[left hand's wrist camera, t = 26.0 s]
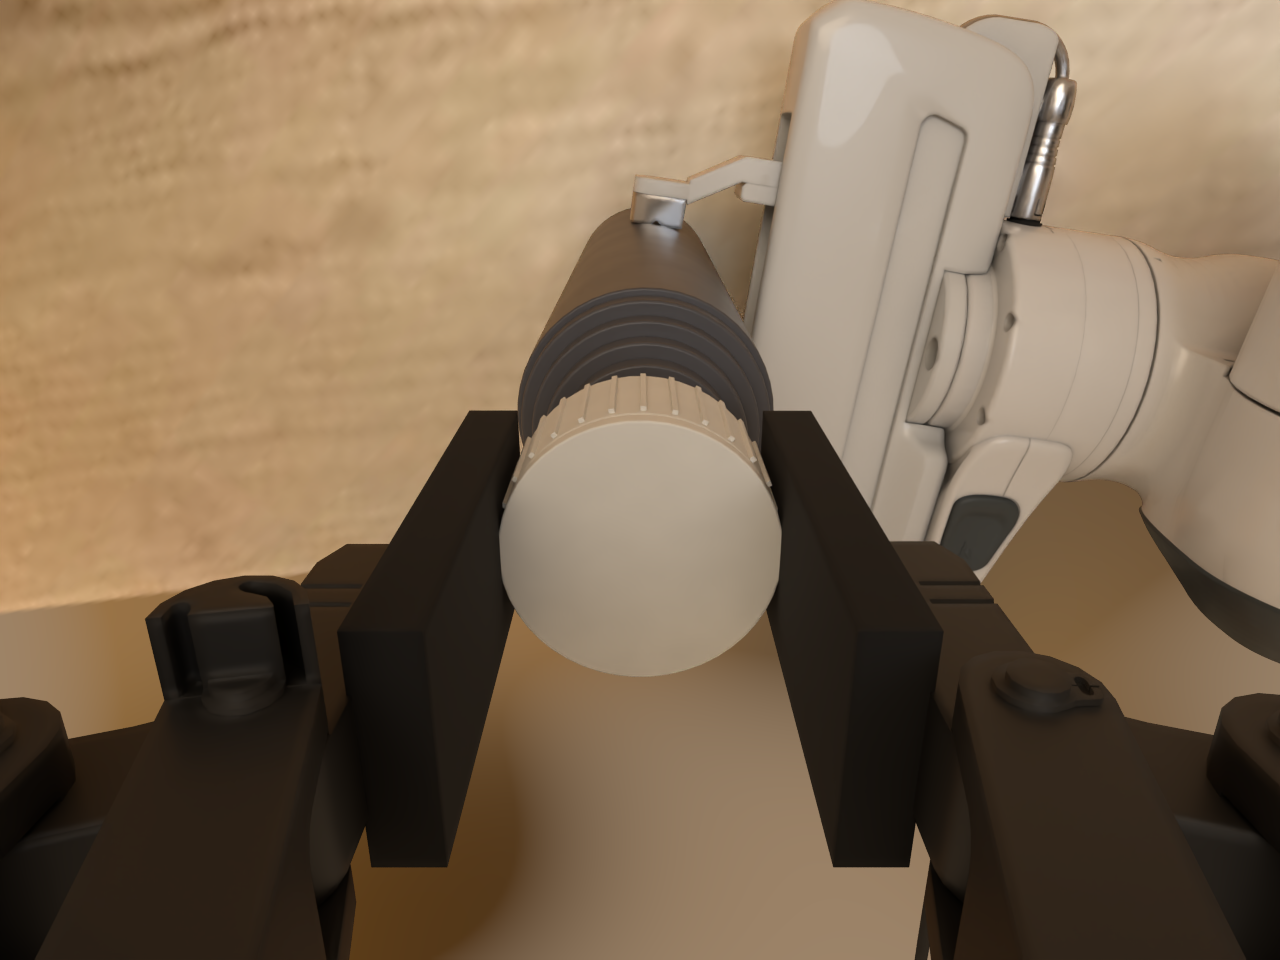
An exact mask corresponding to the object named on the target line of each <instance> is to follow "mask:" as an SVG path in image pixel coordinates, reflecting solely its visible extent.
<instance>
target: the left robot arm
mask: <svg viewBox="0 0 1280 960" xmlns="http://www.w3.org/2000/svg"><path fill="white" fill-rule="evenodd" d="M761 456H762V459H763V462H764V464H765V467H766V470H767V473H768V475H769V478H770V481H771V483H772V486H770V488H771V491H772V494H773V496H774V499H775V502H776V505H777V508H778V511H777V512H778V515H779V519H780V523H781V527H782V535H781V552H780V567H779V580H778V584H777V587H776V590H775V592H774V595H773V597H772V599H771V601H770V603H769V605H768V607H767V609H766V610H767V614H768V618H769V622H770V626H771V630H772V634H773V637H774V641H775V645H776V649H777V653H778V657H779V661H780V664H781V668H782V672H783V676H784V680H785V684H786V687H787V691H788V695H789V699H790V703H791V707H792V710H793V714H794V718H795V722H796V726H797V730H798V733H799V737H800V741H801V745H802V749H803V753H804V757H805V760H806V764H807V768H808V772H809V775H810V780H811V783H812V787H813V791H814V795H815V799H816V802H817V806H818V810H819V814H820V818H821V822H822V826H823V829H824V833H825V837H826V841H827V845H828V849H829V852H830V856H831V860H832V864H833V867H909V865H910V858H911V851H912V844H913V838H914V831H915V824H917V827H918V829H919V832H920V834H921V837H922V839H923V842H924V844H925V847H926V849H927V852H928V854H929V857H930V865H929V871H928V877H927V884H926V890H925V896H924V902H923V909H922V915H921V921H920V928H919V934H918V940H917V947H916V954H915V960H927V957H928V952H929V946H930V954H931V960H1280V695H1275V694H1263V693H1257V694H1251V695H1246V696H1240V697H1235V698H1233V699H1232V700H1231V701H1230V702H1228V703H1227V704H1226V705H1225V706H1224V707H1222V709H1221V712H1220V716H1219V719H1218V723H1217V726H1216V729H1215V733H1214V735H1210V734H1205V733H1199V732H1194V731H1189V730H1184V729H1178V728H1173V727H1168V726H1163V725H1157V724H1152V723H1147V722H1143V721H1139V720H1135V719H1131V718H1127V717H1124V715H1123V713H1122V711H1121V709H1120V707H1119V705H1118V703H1117V701H1116V699H1115V698H1114V697H1113V696H1112V694H1111V693H1110V692H1109V691H1108V690H1107V688H1106V687H1105V686H1104V685H1103V684H1102V682H1100V681H1099V680H1097V679H1095V678H1094V677H1092V676H1091V675H1089V674H1088V673H1086V672H1085V671H1083V670H1081V669H1080V668H1079V667H1076V666H1073V665H1071V664H1068V663H1066V662H1063V661H1060V660H1058V659H1055V658H1053V657H1050V656H1045V655H1040V654H1034V652H1033V651H1032V650H1031V648H1030V647H1029V646H1028V644H1027V643H1026V642H1025V640H1024V639H1023V637H1022V636H1021V635H1020V634H1019V632H1018V631H1017V629H1016V628H1015V627H1014V626H1013V624H1012V623H1011V621H1010V620H1009V619H1008V617H1007V616H1006V615H1005V613H1004V612H1003V611H1002V609H1001V608H1000V607H999V605H998V604H994V599H993V597H992V596H991V595H990V593H989V592H988V591H987V589H986V588H985V587H984V586H983V585H980V580H979V579H978V577H977V576H976V575H975V573H974V572H973V571H972V569H971V568H970V567H969V565H968V564H967V563H966V561H965V560H964V559H962V558H961V557H959V556H957V555H956V554H954V553H953V552H951V551H949V550H948V549H946V548H944V547H943V546H941V545H940V544H938V543H936V542H935V541H889V539H888V538H887V536H886V534H885V533H884V531H883V529H882V528H881V526H880V524H879V523H878V521H877V519H876V518H875V516H874V514H873V513H872V511H871V509H870V508H869V506H868V504H867V503H866V501H865V499H864V498H863V496H862V494H861V493H860V491H859V489H858V488H857V486H856V485H855V483H854V481H853V480H852V478H851V476H850V475H849V473H848V471H847V470H846V468H845V466H844V465H843V463H842V461H841V460H840V458H839V456H838V455H837V453H836V451H835V450H834V448H833V446H832V445H831V443H830V441H829V440H828V438H827V436H826V435H825V433H824V431H823V430H822V428H821V426H820V425H819V423H818V421H817V420H816V418H815V416H814V415H813V413H812V411H763V420H762V438H761ZM519 457H520V446H519V428H518V411H469V412H468V414H467V416H466V417H465V419H464V421H463V422H462V424H461V426H460V427H459V429H458V431H457V432H456V434H455V436H454V437H453V439H452V441H451V442H450V444H449V446H448V447H447V449H446V451H445V452H444V454H443V456H442V457H441V459H440V461H439V462H438V464H437V466H436V467H435V469H434V471H433V472H432V474H431V476H430V477H429V479H428V481H427V482H426V484H425V486H424V487H423V489H422V491H421V492H420V494H419V495H418V497H417V499H416V500H415V502H414V504H413V505H412V507H411V509H410V510H409V512H408V514H407V515H406V517H405V519H404V520H403V522H402V524H401V525H400V527H399V529H398V530H397V532H396V534H395V535H394V537H393V539H392V540H391V542H390V544H346V545H345V546H343V547H341V548H340V549H338V550H337V551H335V552H333V553H332V554H330V555H328V556H327V557H325V558H324V559H322V560H320V561H319V562H317V563H316V565H315V566H314V567H313V569H312V570H311V571H310V573H309V574H308V575H307V577H306V578H305V579H304V581H303V582H302V583H301V585H299V584H298V583H297V582H295V581H293V580H289V579H285V578H280V577H276V576H240V577H234V578H228V579H222V580H216V581H212V582H209V583H206V584H203V585H200V586H197V587H194V588H191V589H188V590H185V591H183V592H181V593H179V594H177V595H175V596H174V597H172V598H170V599H168V600H166V601H164V602H163V603H161V604H160V605H159V606H158V607H157V608H156V609H155V610H154V611H153V612H152V613H151V614H150V615H148V617H146V618H145V621H146V625H147V629H148V633H149V638H150V642H151V646H152V650H153V654H154V659H155V663H156V667H157V671H158V675H159V680H160V683H161V688H162V692H163V696H164V700H165V701H164V703H163V705H162V707H161V709H160V711H159V713H158V715H157V717H156V719H155V721H154V722H150V723H146V724H142V725H138V726H134V727H129V728H123V729H118V730H113V731H108V732H103V733H97V734H92V735H87V736H82V737H76V738H71V739H68V737H67V734H66V730H65V727H64V723H63V720H62V717H61V713H60V711H58V710H57V709H56V708H55V707H53V706H52V705H51V704H50V703H48V702H47V701H42V700H36V699H30V698H25V697H21V698H9V699H0V960H349V956H350V948H351V940H352V932H353V924H354V916H355V907H356V898H355V891H354V884H353V877H352V871H351V865H350V863H351V861H352V858H353V855H354V853H355V850H356V848H357V845H358V843H359V840H360V838H361V835H362V833H363V830H364V828H365V827H366V833H367V840H368V847H369V854H370V861H371V867H447V866H448V862H449V859H450V855H451V851H452V847H453V843H454V839H455V835H456V832H457V828H458V824H459V820H460V816H461V813H462V809H463V805H464V801H465V797H466V793H467V789H468V785H469V782H470V778H471V774H472V770H473V766H474V763H475V759H476V755H477V751H478V747H479V743H480V739H481V736H482V732H483V728H484V724H485V720H486V716H487V712H488V709H489V705H490V701H491V697H492V693H493V690H494V686H495V682H496V678H497V674H498V670H499V667H500V663H501V659H502V655H503V651H504V647H505V643H506V639H507V636H508V632H509V628H510V624H511V620H512V617H513V613H514V609H515V608H514V606H513V605H512V603H511V601H510V599H509V597H508V595H507V592H506V589H505V587H504V584H503V581H502V573H501V559H500V542H499V529H500V524H501V519H502V515H503V512H504V508H503V500H504V497H505V495H506V492H507V489H508V486H509V484H510V481H511V478H512V476H513V473H514V470H515V467H516V465H517V462H518V460H519Z"/></svg>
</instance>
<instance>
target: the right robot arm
mask: <svg viewBox="0 0 1280 960" xmlns="http://www.w3.org/2000/svg"><path fill="white" fill-rule="evenodd" d="M1053 61H1055V68H1056V71H1055V78H1049V75H1050V72H1051V68H1052V65H1053ZM1076 91H1077V82H1076V81H1075V80H1071V79H1069V58H1068V53H1067V50H1066V48H1065V46H1064V44H1063V42H1062V40H1061V38H1060V37H1059V36H1058V34H1057V33H1056V32H1055V31H1054V30H1053V29H1051V28H1050V27H1048V26H1047V25H1045V24H1043V23H1040V22H1038V21H1034V20H1027V19H1021V18H1015V17H1008V16H1002V15H984V16H979V17H976V18H974V19H971V20H969V21H967V22H965V23H964V24H962V25H961V26H957V25H954V24H951V23H948V22H945V21H942V20H939V19H936V18H933V17H930V16H927V15H924V14H920V13H917V12H914V11H910V10H906V9H902V8H899V7H895V6H891V5H886V4H882V3H877V2H873V1H868V0H834V1H832V2H830V3H828V4H826V5H825V6H823V7H821V8H820V9H818V10H817V11H816V12H815V13H813V14H812V15H811V16H810V17H809V18H808V19H807V20H806V21H804V22H803V23H802V24H801V25H800V27H799V28H798V29H797V32H796V35H795V38H794V43H793V48H792V54H791V59H790V65H789V70H788V76H787V81H786V87H785V92H784V98H783V103H782V109H781V114H780V120H779V125H778V131H777V136H776V142H775V147H774V153H773V158H772V160H770V159H763V158H756V157H749V156H742V155H739V156H737V157H735V158H732V159H730V160H727V161H725V162H723V163H720V164H718V165H716V166H713V167H711V168H709V169H706V170H704V171H702V172H699V173H697V174H695V175H692V176H690V177H688V178H687V181H681V180H674V179H667V178H661V177H654V176H647V175H635V182H634V189H633V196H632V205H631V214H630V221H632V222H636V223H642V224H651V223H653V222H655V221H657V222H658V223H659V224H660V225H661V226H666V227H669V228H677V229H682V224H683V218H684V213H685V207H686V204H687V205H688V204H690V203H693V202H695V201H698V200H700V199H702V198H705V197H707V196H710V195H712V194H715V193H717V192H719V191H722V190H724V189H727V188H729V187H732V186H734V185H736V187H735V192H734V193H735V195H736V196H737V198H739V199H741V200H742V201H744V202H750V203H756V204H762V205H764V208H763V214H762V219H761V225H760V230H759V236H758V241H757V247H756V252H755V258H754V263H753V269H752V274H751V280H750V285H749V291H748V296H747V302H746V307H745V313H744V318H743V323H744V325H745V327H746V329H747V330H748V332H749V334H750V336H751V338H752V340H753V342H754V344H755V346H756V348H757V350H758V352H759V354H760V356H761V358H762V360H763V362H764V364H765V366H766V369H767V373H768V376H769V379H770V382H771V388H772V394H773V407H774V411H812V413H813V415H814V416H815V418H816V420H817V421H818V423H819V425H820V426H821V428H822V430H823V431H824V433H825V435H826V436H827V438H828V440H829V441H830V443H831V445H832V446H833V448H834V450H835V451H836V453H837V455H838V456H839V458H840V460H841V461H842V463H843V465H844V466H845V468H846V470H847V471H848V473H849V475H850V476H851V478H852V480H853V481H854V483H855V485H856V486H857V488H858V489H859V491H860V493H861V494H862V496H863V498H864V499H865V501H866V503H867V504H868V506H869V508H870V509H871V511H872V513H873V514H874V516H875V518H876V519H877V521H878V523H879V524H880V526H881V528H882V529H883V531H884V533H885V534H886V536H887V538H888V539H889V541H935V542H936V543H938V544H940V545H941V546H943V547H944V548H946V549H948V550H949V551H951V552H953V553H954V554H956V555H957V556H959V557H961V558H962V559H964V560H965V561H966V563H967V564H968V565H969V567H970V568H971V569H972V571H973V572H974V573H975V575H976V576H977V577H978V579H979V580H980V583H981V582H982V581H983V579H984V578H985V577H986V575H987V574H988V572H989V571H990V570H991V568H992V567H993V565H994V564H995V562H996V561H997V560H998V558H999V557H1000V555H1001V554H1002V552H1003V551H1004V550H1005V548H1006V547H1007V545H1008V544H1009V543H1010V541H1011V540H1012V538H1013V537H1014V536H1015V534H1016V533H1017V532H1018V530H1019V529H1020V528H1021V526H1022V525H1023V524H1024V523H1025V521H1026V520H1027V519H1028V517H1029V516H1030V515H1031V514H1032V512H1033V511H1034V510H1035V509H1036V507H1037V506H1038V505H1039V504H1040V502H1041V501H1042V500H1043V499H1044V498H1045V497H1046V496H1047V494H1048V493H1049V492H1050V491H1051V490H1052V489H1053V488H1054V486H1055V485H1056V484H1057V483H1058V482H1075V481H1084V480H1108V481H1114V482H1118V483H1121V484H1124V485H1126V486H1128V487H1130V488H1132V489H1133V490H1135V491H1136V492H1138V494H1139V495H1140V497H1141V500H1142V506H1141V507H1140V508H1139V512H1140V514H1141V517H1142V519H1143V521H1144V523H1145V525H1146V528H1147V529H1148V531H1149V533H1150V535H1151V537H1152V538H1153V540H1154V542H1155V543H1156V545H1157V546H1158V548H1159V550H1160V551H1161V553H1162V554H1163V556H1164V557H1165V559H1166V560H1167V562H1168V563H1169V565H1170V567H1171V568H1172V570H1173V571H1174V573H1175V575H1176V576H1177V578H1178V579H1179V581H1180V582H1181V584H1182V586H1183V587H1184V589H1185V591H1186V592H1187V594H1188V596H1189V597H1190V598H1191V600H1192V601H1193V603H1194V604H1195V605H1196V606H1197V607H1198V609H1199V610H1200V611H1201V612H1202V613H1203V614H1204V615H1205V616H1206V617H1207V618H1208V619H1209V620H1210V621H1211V622H1213V623H1214V624H1215V625H1216V626H1217V627H1218V628H1220V629H1221V630H1222V631H1223V632H1225V633H1226V634H1227V635H1228V636H1230V637H1231V638H1232V639H1234V640H1235V641H1237V642H1238V643H1239V644H1241V645H1243V646H1244V647H1246V648H1248V649H1249V650H1251V651H1253V652H1255V653H1257V654H1259V655H1261V656H1264V657H1266V658H1268V659H1270V660H1273V661H1275V662H1278V663H1280V260H1274V259H1269V258H1262V257H1255V256H1249V255H1240V254H1219V255H1211V256H1205V257H1198V258H1180V257H1173V256H1170V255H1167V254H1165V253H1162V252H1160V251H1158V250H1156V249H1154V248H1153V247H1151V246H1149V245H1147V244H1144V243H1142V242H1140V241H1136V240H1132V239H1129V238H1125V237H1120V236H1112V235H1105V234H1098V233H1092V232H1085V231H1078V230H1071V229H1064V228H1057V227H1050V226H1044V225H1042V224H1041V223H1040V221H1041V217H1042V214H1043V211H1044V207H1045V203H1046V199H1047V196H1048V192H1049V189H1050V185H1051V182H1052V178H1053V174H1054V170H1055V167H1054V165H1055V164H1056V158H1055V157H1056V156H1057V152H1058V150H1057V147H1059V144H1060V140H1059V139H1061V137H1062V133H1063V130H1064V127H1065V125H1067V124H1068V122H1069V119H1070V117H1071V114H1072V111H1073V107H1074V103H1075V98H1076ZM1004 217H1009V218H1007V220H1004Z"/></svg>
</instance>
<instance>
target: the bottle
mask: <svg viewBox="0 0 1280 960" xmlns="http://www.w3.org/2000/svg"><path fill="white" fill-rule="evenodd" d="M630 214H631V209H627V210H624V211H621V212H619V213H617V214H615V215H613V216H611V217H610V218H608V219H607V220H606V221H604V222H603V223H602V224H601V225H600V226H599V227H598V228H597V229H596V230H595V232H594V233H593V234H592V236H591V237H590V239H589V241H588V242H587V244H586V246H585V248H584V250H583V252H582V254H581V256H580V258H579V260H578V262H577V264H576V266H575V268H574V270H573V272H572V274H571V276H570V278H569V280H568V282H567V284H566V286H565V288H564V290H563V292H562V294H561V296H560V298H559V300H558V302H557V304H556V306H555V308H554V310H553V312H552V314H551V316H550V318H549V320H548V322H547V324H546V326H545V328H544V330H543V332H542V334H541V336H540V338H539V340H538V342H537V344H536V346H535V348H534V350H533V352H532V354H531V356H530V359H529V361H528V363H527V366H526V368H525V370H524V374H523V377H522V381H521V384H520V390H519V397H518V423H519V430H520V436H521V439H522V443H523V447H524V444H525V441H526V439H527V437H530V438H532V436H533V434H534V432H535V431H536V429H537V427H538V425H539V422H540V419H541V417H542V416H543V415H545V416H546V417H547V416H548V415H549V414H550V413H551V412H552V411H553V409H554V408H556V407H557V406H558V405H559V403H560V400H561V399H562V398H563V397H565V398H566V399H567V398H569V397H570V396H572V395H574V394H575V393H577V392H579V391H580V390H582V389H584V386H585V385H587V384H590V385H591V386H592V385H594V384H596V383H600V382H603V381H607V380H610V379H612V376H617V377H618V378H621V377H628V376H640V374H641V373H645V374H646V376H651V377H660V378H666V379H669V377H674V379H675V381H678V382H681V383H684V384H687V385H689V386H692V387H694V388H695V387H696V386H699V387H701V390H702V392H704V393H706V394H708V395H709V396H711V397H712V398H714V399H715V400H716V401H718V402H719V401H720V400H722V401H723V402H724V403H725V407H726V409H727V410H728V411H729V412H730V413H731V414H732V415H733V416H734V417H735V418H736V419H737V420H739V419H741V420H742V421H743V422H744V425H745V428H746V431H747V434H748V436H749V438H750V440H751V441H752V442H753V441H756V443H757V446H758V448H759V451H760V454H761V438H762V420H763V411H774V407H773V394H772V388H771V382H770V379H769V376H768V373H767V369H766V366H765V364H764V362H763V360H762V358H761V356H760V354H759V352H758V350H757V348H756V346H755V344H754V342H753V340H752V338H751V336H750V334H749V332H748V330H747V329H746V327H745V325H744V323H743V321H742V319H741V317H740V315H739V313H738V311H737V309H736V308H735V306H734V304H733V302H732V300H731V298H730V296H729V294H728V292H727V290H726V288H725V286H724V285H723V283H722V281H721V279H720V277H719V275H718V273H717V271H716V269H715V267H714V265H713V263H712V262H711V260H710V258H709V256H708V254H707V252H706V250H705V248H704V246H703V244H702V242H701V241H700V239H699V237H698V236H697V234H696V233H695V231H694V230H693V229H692V228H691V227H690V226H689V225H688V224H687V223H686V222H685V221H684V220H683V224H682V229H677V228H669V227H666V226H661V225H660V224H659V223H658V222H657V221H655V222H653V223H651V224H642V223H636V222H632V221H630Z"/></svg>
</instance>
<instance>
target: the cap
mask: <svg viewBox="0 0 1280 960" xmlns="http://www.w3.org/2000/svg"><path fill="white" fill-rule="evenodd" d="M770 486H772V483H771V481H770V478H769V475H768V473H767V470H766V467H765V464H764V462H763V459H762V456H761V454H760V451H759V448H758V446H757V443H756V441H753V442H752V441H751V440H750V438H749V436H748V434H747V431H746V428H745V425H744V422H743V421H742V420H741V419H739V420H737V419H736V418H735V417H734V416H733V415H732V414H731V413H730V412H729V411H728V410H727V409H726V407H725V403H724V402H723V401H722V400H720V401H719V402H718V401H716V400H715V399H714V398H712V397H711V396H709V395H708V394H706V393H704V392H702V390H701V387H699V386H696V387H695V388H694V387H692V386H689V385H687V384H684V383H681V382H678V381H675V379H674V377H669V379H666V378H660V377H651V376H646V374H645V373H641V374H640V376H628V377H621V378H618V377H617V376H612V379H610V380H607V381H603V382H600V383H596V384H594V385H592V386H591V385H590V384H587V385H585V386H584V389H582V390H580V391H579V392H577V393H575V394H574V395H572V396H570V397H569V398H567V399H566V398H565V397H563V398H562V399H561V400H560V403H559V405H558V406H557V407H556V408H554V409H553V411H552V412H551V413H550V414H549V415H548V416H547V417H546V416H545V415H543V416H542V417H541V419H540V422H539V425H538V427H537V429H536V431H535V432H534V434H533V436H532V438H530V437H527V439H526V441H525V444H524V447H523V449H522V452H521V455H520V457H519V460H518V462H517V465H516V467H515V470H514V473H513V476H512V478H511V481H510V484H509V486H508V489H507V492H506V495H505V497H504V500H503V508H504V512H503V515H502V519H501V524H500V529H499V542H500V559H501V573H502V581H503V584H504V587H505V589H506V592H507V595H508V597H509V599H510V601H511V603H512V605H513V606H514V608H515V610H516V612H517V613H518V615H519V616H520V617H521V619H522V620H523V622H524V623H525V624H526V626H527V627H528V628H529V629H530V630H531V631H532V632H533V633H534V634H535V635H536V636H537V637H538V638H539V639H540V640H541V641H542V642H544V643H545V644H546V645H547V646H549V647H550V648H551V649H553V650H554V651H556V652H557V653H559V654H560V655H562V656H564V657H565V658H567V659H569V660H571V661H573V662H575V663H578V664H580V665H582V666H584V667H587V668H590V669H593V670H596V671H600V672H604V673H609V674H614V675H620V676H631V677H652V676H660V675H667V674H672V673H677V672H681V671H685V670H688V669H691V668H693V667H696V666H699V665H702V664H704V663H706V662H708V661H710V660H712V659H714V658H716V657H718V656H719V655H721V654H722V653H724V652H725V651H727V650H728V649H730V648H731V647H733V646H734V645H735V644H736V643H737V642H738V641H740V640H741V639H742V638H743V637H744V636H745V635H746V634H747V633H748V632H749V631H750V630H751V629H752V628H753V626H754V625H755V624H756V623H757V622H758V620H759V619H760V617H761V616H762V615H763V613H764V612H765V610H766V609H767V607H768V605H769V603H770V601H771V599H772V597H773V595H774V592H775V590H776V587H777V584H778V580H779V567H780V552H781V535H782V527H781V523H780V519H779V515H778V512H777V511H778V508H777V505H776V502H775V499H774V496H773V494H772V491H771V488H770Z"/></svg>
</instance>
